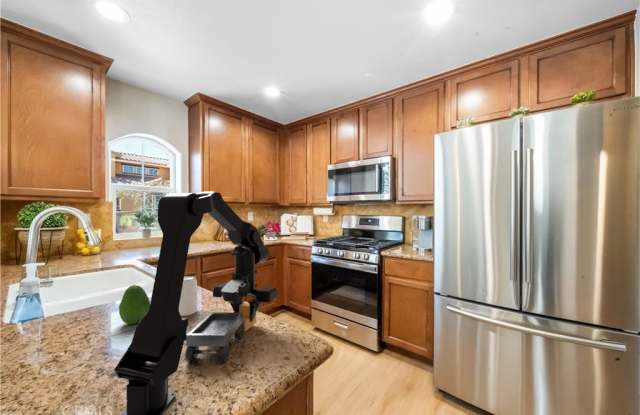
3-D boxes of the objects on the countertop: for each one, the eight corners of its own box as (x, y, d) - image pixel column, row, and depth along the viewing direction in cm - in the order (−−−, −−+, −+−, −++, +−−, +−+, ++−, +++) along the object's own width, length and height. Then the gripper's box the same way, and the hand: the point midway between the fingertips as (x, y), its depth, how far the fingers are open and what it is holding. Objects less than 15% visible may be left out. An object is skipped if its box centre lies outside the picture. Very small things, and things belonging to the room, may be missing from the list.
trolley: (223, 365, 59) (223, 336, 59) (184, 365, 59) (184, 336, 59) (243, 334, 73) (243, 311, 73) (212, 334, 74) (212, 311, 74)
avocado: (114, 330, 76) (113, 289, 76) (126, 319, 84) (126, 282, 84) (145, 327, 78) (144, 287, 78) (154, 316, 86) (153, 280, 86)
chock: (244, 320, 80) (244, 301, 80) (256, 322, 79) (256, 302, 79) (233, 329, 74) (233, 308, 74) (245, 331, 73) (245, 310, 73)
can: (188, 317, 85) (188, 281, 85) (171, 316, 86) (171, 280, 86) (201, 309, 91) (201, 276, 91) (185, 308, 93) (185, 275, 93)
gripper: (199, 272, 72) (199, 329, 72) (259, 277, 67) (259, 338, 67) (224, 264, 82) (224, 313, 82) (278, 267, 77) (278, 320, 77)
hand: (245, 320), depth 77 cm, fingers closed on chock, 4 cm apart
